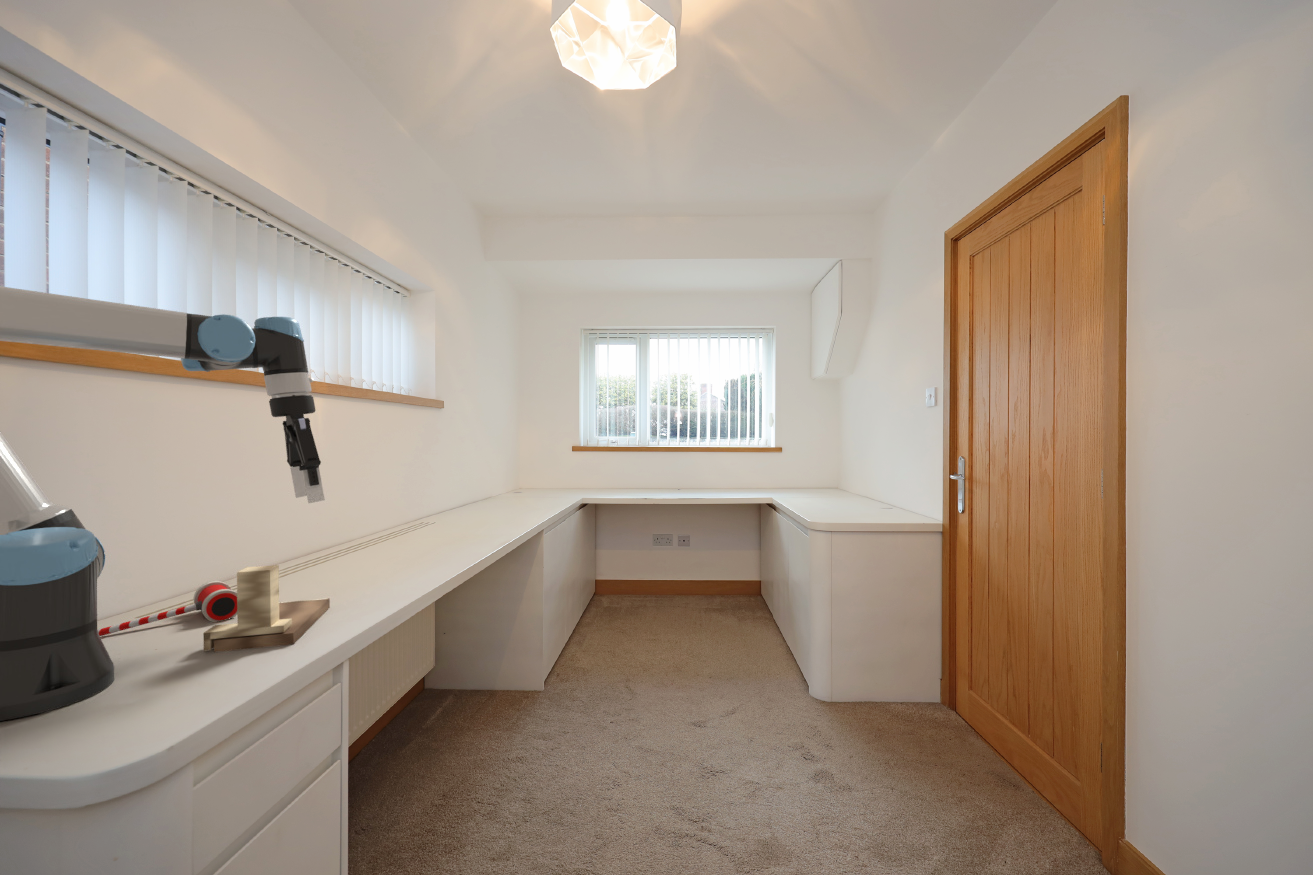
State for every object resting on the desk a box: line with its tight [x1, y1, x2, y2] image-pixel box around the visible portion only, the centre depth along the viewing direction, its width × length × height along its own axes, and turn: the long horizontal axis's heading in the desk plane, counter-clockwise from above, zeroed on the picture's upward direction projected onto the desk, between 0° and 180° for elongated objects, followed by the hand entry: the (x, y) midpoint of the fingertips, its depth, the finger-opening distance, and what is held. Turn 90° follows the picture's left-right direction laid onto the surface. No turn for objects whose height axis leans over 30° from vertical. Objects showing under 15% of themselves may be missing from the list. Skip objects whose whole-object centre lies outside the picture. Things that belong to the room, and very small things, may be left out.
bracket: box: [203, 564, 292, 652], centre depth 98 cm, size 12×4×13 cm, turn 106°
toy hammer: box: [97, 580, 237, 637], centre depth 109 cm, size 23×12×6 cm, turn 138°
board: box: [213, 598, 331, 653], centre depth 107 cm, size 12×22×2 cm, turn 16°
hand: (309, 499), depth 113 cm, fingers open, 13 cm apart
